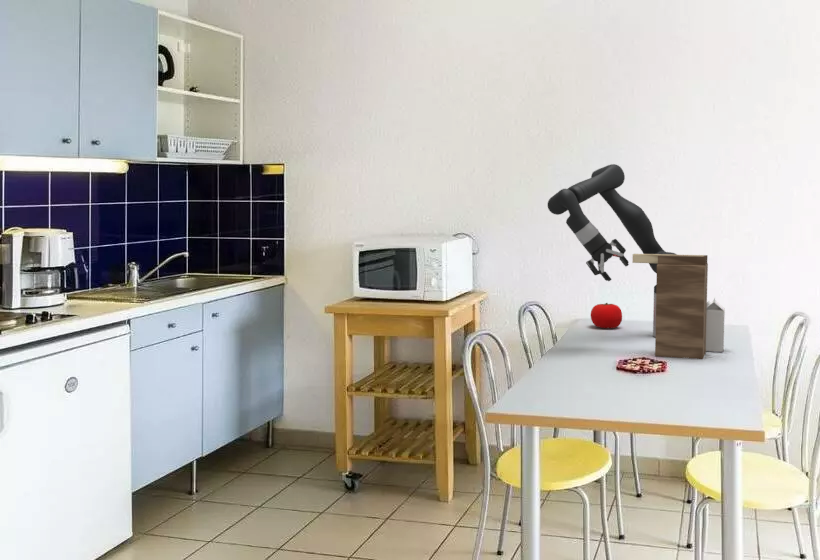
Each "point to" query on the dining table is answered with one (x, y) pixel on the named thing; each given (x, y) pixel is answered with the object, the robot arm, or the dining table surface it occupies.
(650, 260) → the wooden block
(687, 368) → the dining table surface
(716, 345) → the milk carton
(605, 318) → the tomato
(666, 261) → the pedestal
